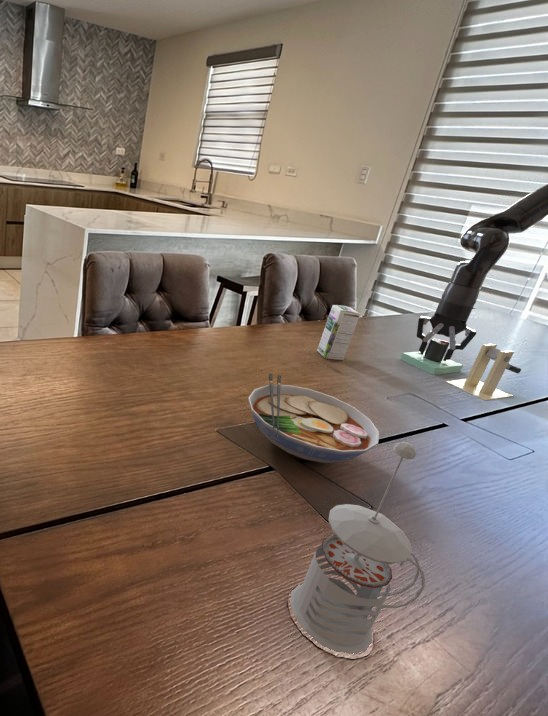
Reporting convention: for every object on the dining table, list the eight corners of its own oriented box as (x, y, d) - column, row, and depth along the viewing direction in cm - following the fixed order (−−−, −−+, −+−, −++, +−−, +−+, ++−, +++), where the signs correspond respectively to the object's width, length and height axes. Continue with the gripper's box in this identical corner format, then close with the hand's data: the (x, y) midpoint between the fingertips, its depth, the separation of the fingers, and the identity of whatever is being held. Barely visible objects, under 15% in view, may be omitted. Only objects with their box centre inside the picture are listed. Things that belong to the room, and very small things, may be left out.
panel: (425, 359, 142) (429, 350, 141) (458, 374, 134) (463, 364, 133) (398, 362, 138) (402, 352, 137) (431, 377, 130) (436, 367, 128)
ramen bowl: (377, 508, 75) (395, 467, 72) (233, 464, 82) (244, 425, 79) (356, 431, 97) (369, 397, 94) (244, 402, 104) (253, 368, 101)
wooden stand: (471, 381, 130) (491, 339, 125) (511, 399, 122) (534, 355, 117) (443, 385, 126) (463, 341, 121) (482, 404, 117) (506, 357, 112)
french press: (283, 572, 61) (345, 408, 52) (380, 603, 59) (464, 435, 49) (289, 641, 53) (364, 458, 43) (403, 680, 50) (511, 495, 40)
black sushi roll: (423, 358, 134) (431, 339, 132) (423, 354, 138) (431, 335, 135) (441, 363, 132) (450, 344, 130) (441, 358, 136) (449, 340, 133)
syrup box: (316, 350, 139) (331, 304, 133) (335, 352, 139) (351, 306, 133) (324, 358, 133) (340, 310, 128) (344, 361, 134) (361, 313, 128)
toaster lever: (496, 367, 127) (502, 360, 127) (517, 375, 123) (523, 368, 123) (479, 352, 121) (485, 344, 121) (500, 360, 117) (507, 352, 117)
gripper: (490, 305, 127) (463, 362, 133) (428, 291, 135) (406, 345, 141) (490, 310, 121) (462, 369, 128) (426, 295, 129) (403, 351, 136)
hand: (433, 356), depth 135 cm, fingers open, 5 cm apart
